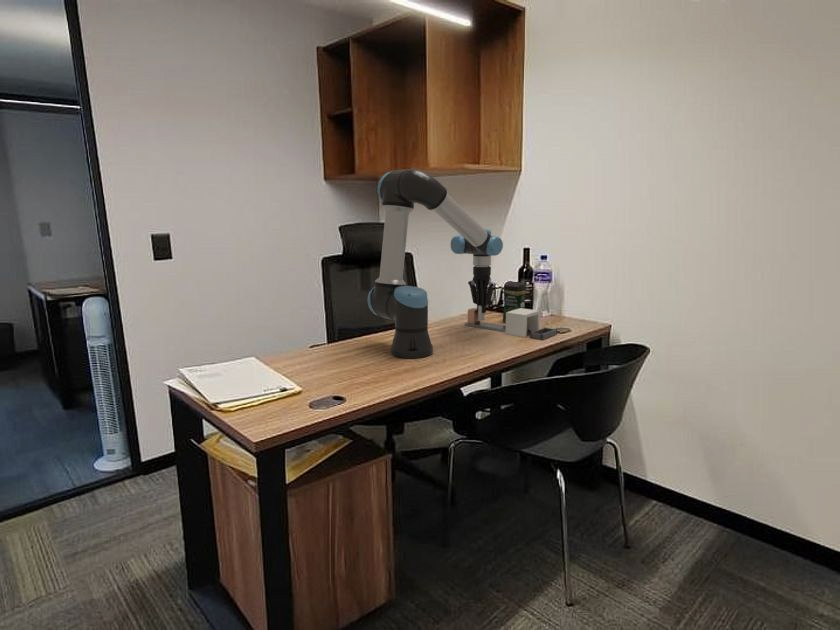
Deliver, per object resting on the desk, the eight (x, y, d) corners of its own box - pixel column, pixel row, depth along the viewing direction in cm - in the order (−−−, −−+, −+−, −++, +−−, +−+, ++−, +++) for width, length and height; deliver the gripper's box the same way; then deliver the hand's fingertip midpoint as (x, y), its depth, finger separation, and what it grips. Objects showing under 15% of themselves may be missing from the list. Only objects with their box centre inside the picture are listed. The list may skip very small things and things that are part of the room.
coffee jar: (499, 323, 231) (500, 282, 228) (509, 320, 237) (510, 280, 234) (518, 326, 225) (519, 283, 221) (527, 323, 231) (529, 281, 227)
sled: (520, 334, 208) (521, 317, 207) (464, 325, 226) (464, 309, 225) (529, 331, 213) (529, 315, 212) (473, 322, 232) (474, 307, 230)
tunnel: (525, 337, 205) (525, 315, 203) (505, 334, 210) (505, 312, 209) (539, 332, 213) (539, 310, 211) (519, 329, 219) (520, 308, 217)
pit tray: (542, 341, 199) (542, 335, 199) (529, 338, 203) (529, 332, 202) (556, 335, 208) (557, 329, 208) (544, 333, 212) (544, 327, 211)
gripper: (499, 266, 218) (498, 320, 223) (474, 264, 227) (474, 316, 231) (489, 267, 213) (489, 323, 217) (464, 265, 221) (464, 319, 226)
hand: (481, 320), depth 224 cm, fingers closed
